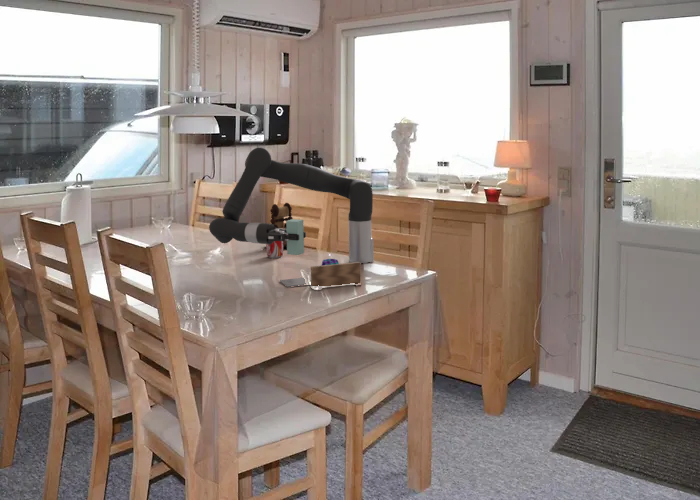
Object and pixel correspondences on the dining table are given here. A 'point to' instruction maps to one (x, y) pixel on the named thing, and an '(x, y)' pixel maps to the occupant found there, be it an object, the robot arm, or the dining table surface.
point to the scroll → (281, 217)
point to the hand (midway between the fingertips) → (301, 236)
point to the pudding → (329, 262)
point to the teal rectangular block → (295, 245)
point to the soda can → (275, 249)
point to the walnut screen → (335, 274)
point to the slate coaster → (293, 282)
